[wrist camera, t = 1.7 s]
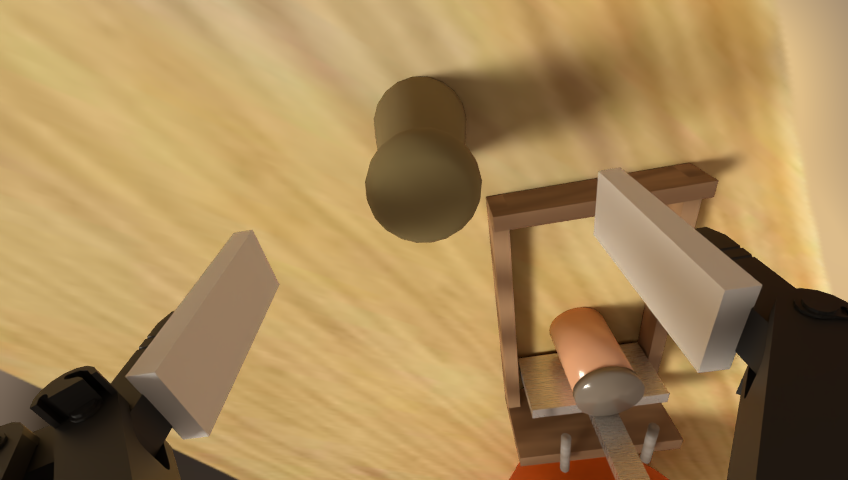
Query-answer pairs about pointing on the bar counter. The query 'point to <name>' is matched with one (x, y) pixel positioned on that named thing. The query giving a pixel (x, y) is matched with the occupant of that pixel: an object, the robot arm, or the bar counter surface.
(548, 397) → the pusher
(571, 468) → the bowl
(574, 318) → the terracotta spice jar
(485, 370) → the bar counter surface
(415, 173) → the pepper mill
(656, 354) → the lane
